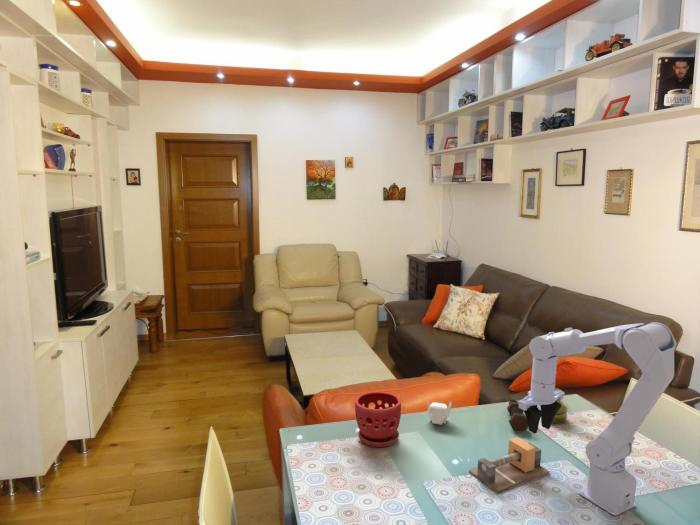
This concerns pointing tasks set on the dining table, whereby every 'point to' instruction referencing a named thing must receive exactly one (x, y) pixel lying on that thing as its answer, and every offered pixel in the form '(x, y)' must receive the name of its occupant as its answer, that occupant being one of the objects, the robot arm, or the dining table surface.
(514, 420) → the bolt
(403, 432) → the dining table surface
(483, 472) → the sliding block rail
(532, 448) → the collar
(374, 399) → the plant pot
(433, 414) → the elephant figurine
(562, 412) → the olive green vase
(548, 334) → the robot arm
